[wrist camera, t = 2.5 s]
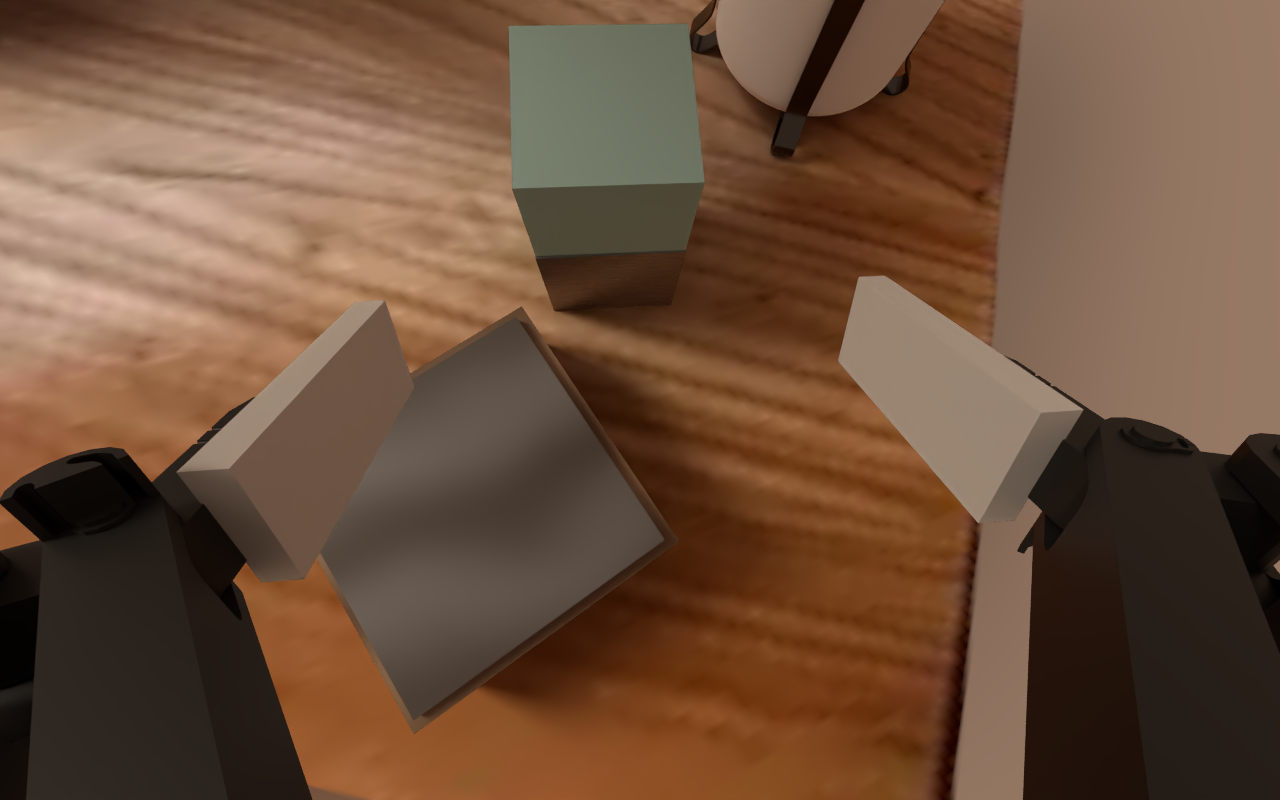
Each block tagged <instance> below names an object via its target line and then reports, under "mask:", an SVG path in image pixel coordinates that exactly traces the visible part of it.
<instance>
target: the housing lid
mask: <svg viewBox="0 0 1280 800" xmlns="http://www.w3.org/2000/svg"><path fill="white" fill-rule="evenodd" d="M509 61H510V110H511V160H512V190H513V193H514V195H515V198H516V201H517V204H518V207H519V210H520V213H521V215H522V218H523V221H524V224H525V227H526V230H527V232H528V235H529V238H530V241H531V244H532V247H533V250H534V252H535V255H536V256H550V255H575V254H600V253H625V252H649V251H674V250H686V247H687V243H688V240H689V236H690V233H691V229H692V226H693V222H694V219H695V215H696V211H697V208H698V204H699V201H700V197H701V194H702V190H703V187H704V183H705V181H704V171H703V161H702V152H701V142H700V132H699V123H698V113H697V103H696V94H695V84H694V75H693V65H692V55H691V46H690V36H689V26H688V24H616V25H537V26H509Z"/></svg>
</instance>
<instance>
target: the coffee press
mask: <svg viewBox="0 0 1280 800" xmlns="http://www.w3.org/2000/svg"><path fill="white" fill-rule="evenodd" d="M716 1H717V0H712V1H711V2H710V3H709V5H708V6H707V7H706V8H705V9H704V10H703V11H702V12H701V13H699V14H698V15H697V16H696V17H695V18H694V20H693V21H692V25H691V29H690V34H689V36H690V46H691V50H692V51H694V52H696V53H705V52H707V51H709V50H710V49H712V48H714V47H716V46H718V45H719V48H720V51H721V54H722V57H723V59H724V61H725V63H726V65H727V67H728V69H729V70H730V72H731V73H732V75H733V76H734V77H735V79H736V80H737V81H738V82H739V83H740V85H741V86H742V87H743V88H744V89H746V90H747V91H748V92H749V93H750V94H751V95H753V96H754V97H756V98H757V99H758V100H760V101H762V102H763V103H765V104H767V105H769V106H771V107H773V108H776V109H778V110H781V112H780V116H779V120H778V123H777V127H776V130H775V134H774V137H773V140H772V144H771V150H770V153H774V154H779V155H783V156H788V157H791V156H792V155H793V153H794V151H795V148H796V145H797V142H798V140H799V137H800V134H801V131H802V128H803V126H804V123H805V120H806V118H807V116H827V115H834V114H838V113H842V112H846V111H848V110H851V109H854V108H856V107H858V106H860V105H862V104H864V103H865V102H867V101H869V100H870V99H871V98H873V97H874V96H875V95H877V94H878V93H879V92H880V91H881V90H883V91H884V93H886V94H888V95H897V94H900V93H902V92H903V91H905V90H906V89H907V87H908V85H909V78H910V69H911V62H910V54H911V52H912V51H913V49H914V47H915V46H916V44H917V43H918V41H919V39H920V38H921V36H922V35H923V33H924V32H925V30H926V29H927V27H928V26H929V24H930V23H931V21H932V20H933V18H934V17H935V15H936V14H937V12H938V11H939V9H940V8H941V6H942V5H943V3H944V2H945V0H719V2H718V8H717V15H716V30H715V31H714V32H712V33H710V34H708V35H706V36H701V35H698V34H697V33H696V32H697V31H698V30H699V29H700V28H701V27H702V26H703V25H704V24H705V23H706V22H707V21H708V20H709V19H710V18H711V16H712V14H713V12H714V9H715V5H716ZM905 59H906V61H905V74H904V75H902V76H900V77H896V78H893V76H894V75H895V73H896V72H897V70H898V69H899V68H900V66H901V65H902V63H903V62H904V60H905Z"/></svg>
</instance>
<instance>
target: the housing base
mask: <svg viewBox="0 0 1280 800" xmlns="http://www.w3.org/2000/svg"><path fill="white" fill-rule="evenodd" d="M685 252H686V250H674V251H649V252H625V253H600V254H575V255H550V256H536V261H537V264H538V267H539V270H540V272H541V275H542V278H543V281H544V284H545V286H546V289H547V292H548V295H549V298H550V300H551V303H552V306H553V309H554V311H557V310H576V309H595V308H614V307H633V306H652V305H671V302H672V298H673V295H674V291H675V288H676V284H677V281H678V277H679V274H680V270H681V267H682V263H683V260H684V256H685Z"/></svg>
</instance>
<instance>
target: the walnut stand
mask: <svg viewBox="0 0 1280 800" xmlns="http://www.w3.org/2000/svg"><path fill="white" fill-rule="evenodd" d="M410 375H411V378H412V381H413V384H414V389H413V390H412V392H411V394H410V396H409V397H408V399H407V401H406V403H405V404H404V406H403V408H402V410H401V411H400V413H399V415H398V417H397V418H396V420H395V422H394V424H393V425H392V427H391V429H390V431H389V432H388V434H387V436H386V438H385V439H384V441H383V443H382V445H381V446H380V448H379V450H378V452H377V453H376V455H375V457H374V459H373V460H372V462H371V464H370V466H369V467H368V469H367V471H366V473H365V474H364V476H363V478H362V479H361V481H360V483H359V485H358V486H357V488H356V490H355V492H354V493H353V495H352V497H351V499H350V500H349V502H348V504H347V506H346V507H345V509H344V511H343V513H342V514H341V516H340V518H339V520H338V521H337V523H336V525H335V527H334V528H333V530H332V532H331V534H330V535H329V537H328V539H327V541H326V542H325V544H324V546H323V548H322V549H321V551H320V553H319V555H318V556H317V560H318V562H319V563H320V565H321V567H322V569H323V571H324V572H325V574H326V576H327V578H328V580H329V581H330V583H331V585H332V587H333V589H334V590H335V592H336V594H337V596H338V598H339V599H340V601H341V603H342V605H343V607H344V609H345V610H346V612H347V614H348V616H349V618H350V619H351V621H352V623H353V625H354V627H355V628H356V630H357V632H358V634H359V636H360V637H361V639H362V641H363V643H364V645H365V646H366V648H367V650H368V652H369V654H370V655H371V657H372V659H373V661H374V663H375V665H376V666H377V668H378V670H379V672H380V674H381V675H382V677H383V679H384V681H385V683H386V684H387V686H388V688H389V690H390V692H391V693H392V695H393V697H394V699H395V701H396V702H397V704H398V706H399V708H400V710H401V711H402V713H403V715H404V717H405V719H406V721H407V722H408V724H409V726H410V728H411V730H412V731H413V733H414V734H415V733H416V732H418V731H419V730H420V729H422V728H423V727H425V726H426V725H427V724H429V723H430V722H431V721H433V720H434V719H436V718H437V717H438V716H440V715H441V714H442V713H444V712H445V711H447V710H448V709H449V708H451V707H452V706H454V705H455V704H456V703H458V702H459V701H460V700H462V699H463V698H465V697H466V696H467V695H469V694H470V693H471V692H473V691H474V690H476V689H477V688H478V687H480V686H481V685H482V684H484V683H485V682H487V681H488V680H489V679H491V678H492V677H494V676H495V675H496V674H498V673H499V672H500V671H502V670H503V669H505V668H506V667H507V666H509V665H510V664H511V663H513V662H514V661H516V660H517V659H518V658H520V657H521V656H523V655H524V654H525V653H527V652H528V651H529V650H531V649H532V648H534V647H535V646H536V645H538V644H539V643H540V642H542V641H543V640H545V639H546V638H547V637H549V636H550V635H551V634H553V633H554V632H556V631H557V630H558V629H560V628H561V627H563V626H564V625H565V624H567V623H568V622H569V621H571V620H572V619H574V618H575V617H576V616H578V615H579V614H580V613H582V612H583V611H585V610H586V609H587V608H589V607H590V606H591V605H593V604H594V603H596V602H597V601H598V600H600V599H601V598H603V597H604V596H605V595H607V594H608V593H609V592H611V591H612V590H614V589H615V588H616V587H618V586H619V585H620V584H622V583H623V582H625V581H626V580H627V579H629V578H630V577H632V576H633V575H634V574H636V573H637V572H638V571H640V570H641V569H643V568H644V567H645V566H647V565H648V564H649V563H651V562H652V561H654V560H655V559H656V558H658V557H659V556H660V555H662V554H663V553H665V552H666V551H667V550H669V549H670V548H672V547H673V546H674V545H676V544H677V543H678V542H679V540H678V539H677V537H676V536H675V534H674V533H673V531H672V530H671V528H670V527H669V525H668V524H667V522H666V521H665V519H664V518H663V516H662V515H661V513H660V512H659V510H658V509H657V507H656V506H655V504H654V503H653V501H652V500H651V498H650V497H649V495H648V494H647V492H646V491H645V489H644V488H643V486H642V485H641V483H640V482H639V481H638V479H637V478H636V476H635V475H634V473H633V472H632V470H631V469H630V467H629V466H628V464H627V463H626V461H625V460H624V458H623V457H622V455H621V454H620V452H619V451H618V449H617V448H616V446H615V445H614V443H613V442H612V440H611V439H610V437H609V436H608V434H607V433H606V431H605V430H604V428H603V427H602V425H601V424H600V422H599V421H598V419H597V418H596V416H595V415H594V413H593V412H592V410H591V409H590V408H589V406H588V405H587V403H586V402H585V400H584V399H583V397H582V396H581V394H580V393H579V391H578V390H577V388H576V387H575V385H574V384H573V382H572V381H571V379H570V378H569V376H568V375H567V373H566V372H565V370H564V369H563V367H562V366H561V364H560V363H559V361H558V360H557V358H556V357H555V355H554V354H553V352H552V351H551V349H550V348H549V346H548V345H547V343H546V342H545V340H544V339H543V338H542V336H541V335H540V333H539V332H538V330H537V329H536V327H535V326H534V324H533V323H532V321H531V320H530V318H529V317H528V315H527V314H526V312H525V311H524V309H523V308H522V307H520V308H518V309H517V310H515V311H513V312H512V313H510V314H508V315H507V316H505V317H503V318H502V319H500V320H498V321H497V322H495V323H493V324H492V325H490V326H488V327H487V328H485V329H483V330H482V331H480V332H478V333H477V334H475V335H473V336H472V337H470V338H469V339H467V340H465V341H464V342H462V343H460V344H459V345H457V346H455V347H454V348H452V349H450V350H449V351H447V352H445V353H444V354H442V355H440V356H439V357H437V358H435V359H434V360H432V361H430V362H429V363H427V364H425V365H424V366H422V367H420V368H419V369H417V370H415V371H414V372H412V373H410Z"/></svg>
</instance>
